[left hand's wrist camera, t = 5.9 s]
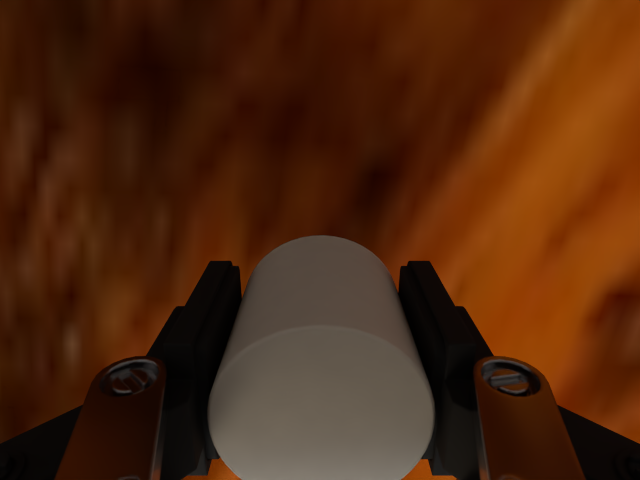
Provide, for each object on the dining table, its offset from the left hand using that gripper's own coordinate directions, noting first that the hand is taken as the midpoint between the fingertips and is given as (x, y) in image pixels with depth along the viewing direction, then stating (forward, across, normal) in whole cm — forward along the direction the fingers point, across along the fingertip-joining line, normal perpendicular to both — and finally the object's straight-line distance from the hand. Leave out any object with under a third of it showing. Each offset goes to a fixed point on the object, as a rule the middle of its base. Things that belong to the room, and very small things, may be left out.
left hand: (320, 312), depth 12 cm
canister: (0, 0, 0) cm, 0 cm away
